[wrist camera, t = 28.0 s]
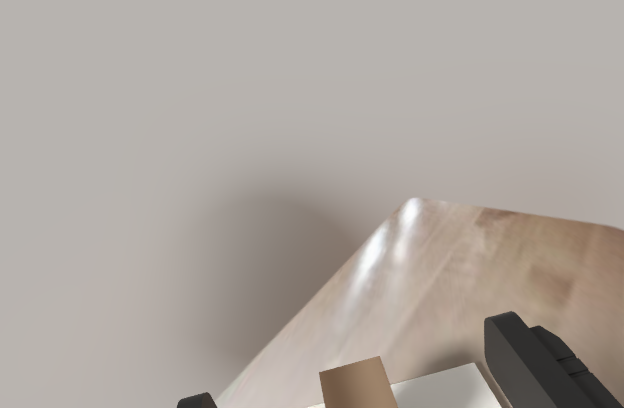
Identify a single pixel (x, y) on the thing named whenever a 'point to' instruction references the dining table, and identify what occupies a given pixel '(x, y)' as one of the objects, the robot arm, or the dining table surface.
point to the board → (444, 390)
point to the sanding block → (357, 386)
